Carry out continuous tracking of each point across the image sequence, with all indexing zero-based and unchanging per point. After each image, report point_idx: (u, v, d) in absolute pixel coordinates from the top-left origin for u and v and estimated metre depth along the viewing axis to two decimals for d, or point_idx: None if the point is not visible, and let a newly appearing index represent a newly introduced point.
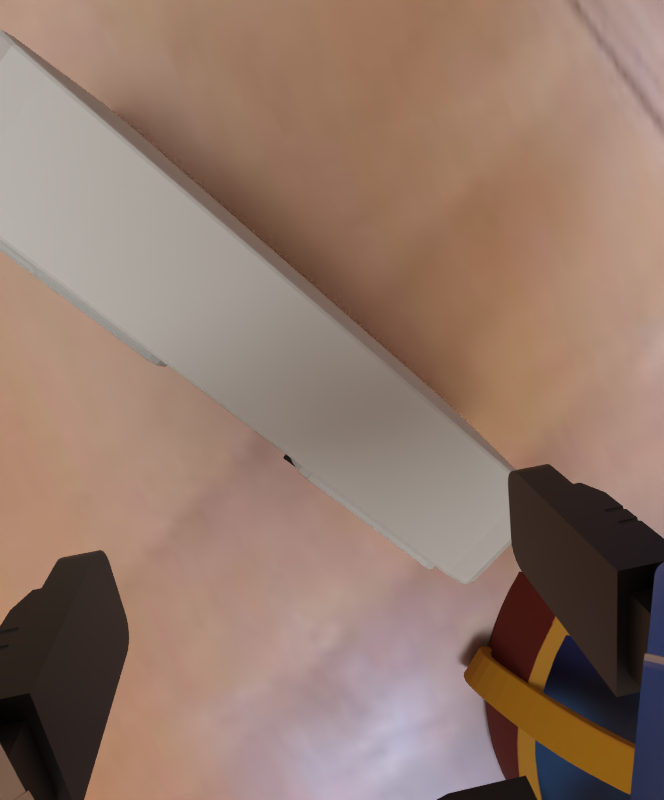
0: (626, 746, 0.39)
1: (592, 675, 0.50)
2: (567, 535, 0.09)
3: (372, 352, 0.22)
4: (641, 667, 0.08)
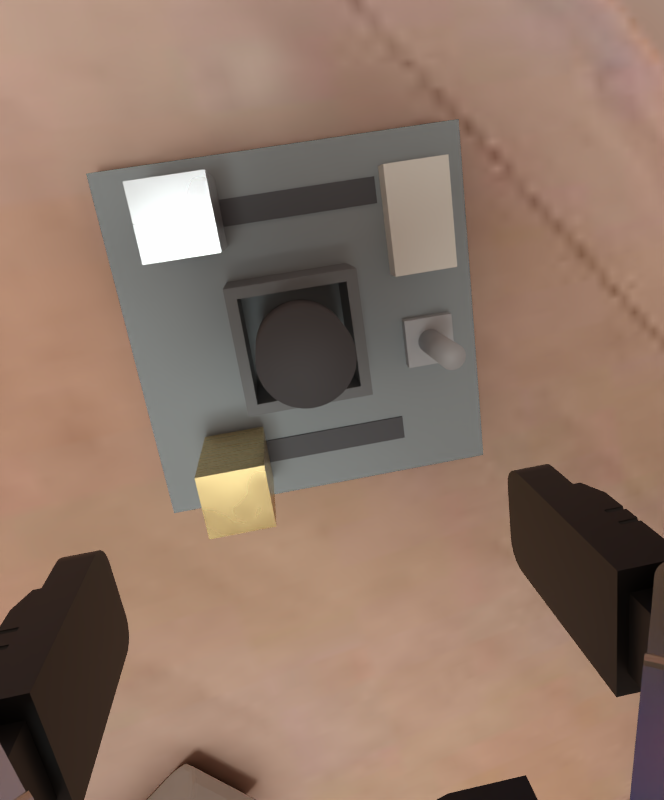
0: None
1: None
2: (567, 535, 0.09)
3: None
4: (641, 667, 0.08)
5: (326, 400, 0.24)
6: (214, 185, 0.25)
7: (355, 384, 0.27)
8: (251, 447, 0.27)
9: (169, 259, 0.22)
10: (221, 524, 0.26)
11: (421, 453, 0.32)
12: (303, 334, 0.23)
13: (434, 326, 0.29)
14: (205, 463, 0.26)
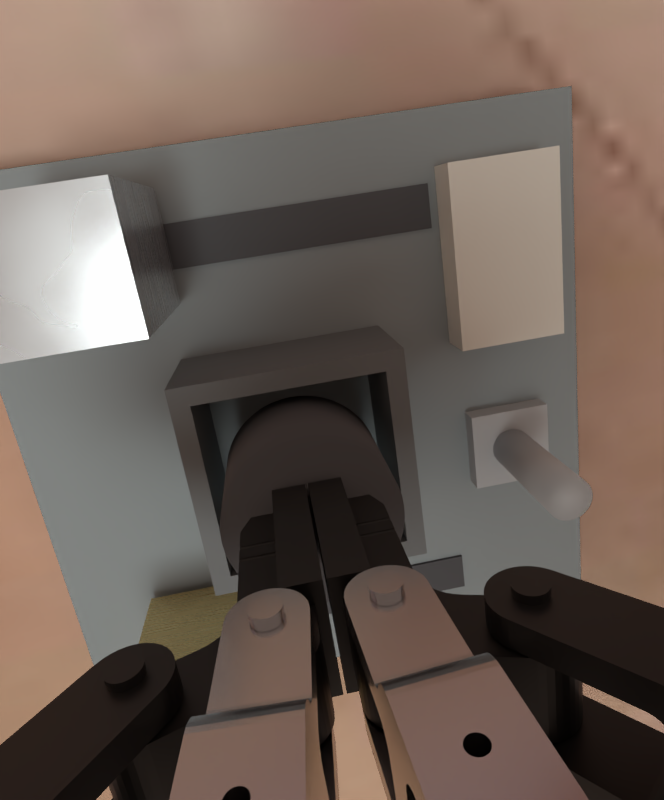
0: None
1: None
2: None
3: None
4: (354, 666, 0.09)
5: None
6: (151, 201, 0.14)
7: None
8: None
9: (44, 354, 0.11)
10: None
11: None
12: (308, 481, 0.12)
13: (519, 425, 0.18)
14: None
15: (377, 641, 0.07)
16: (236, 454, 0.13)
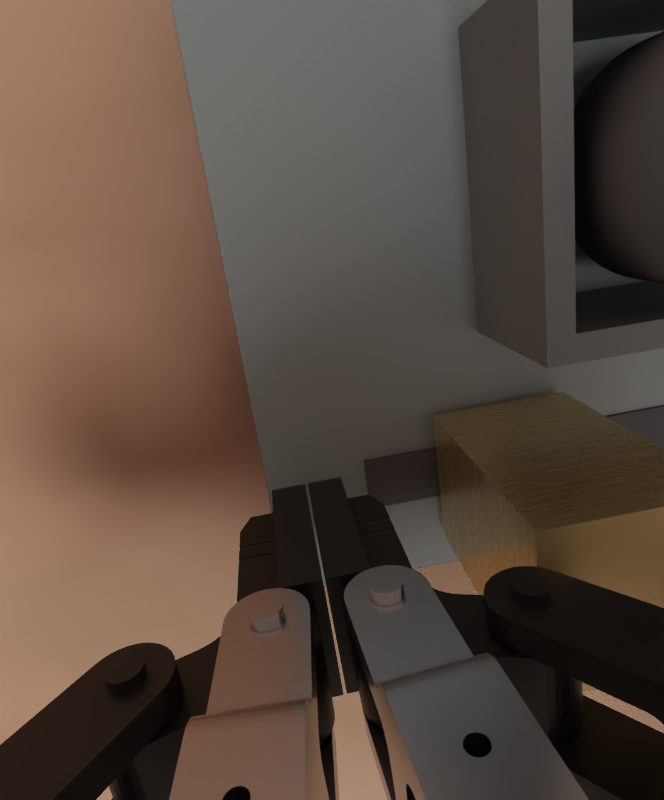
0: None
1: None
2: None
3: None
4: (354, 666, 0.09)
5: None
6: None
7: None
8: (607, 440, 0.10)
9: None
10: None
11: None
12: None
13: None
14: (515, 482, 0.09)
15: (377, 641, 0.07)
16: (649, 63, 0.08)
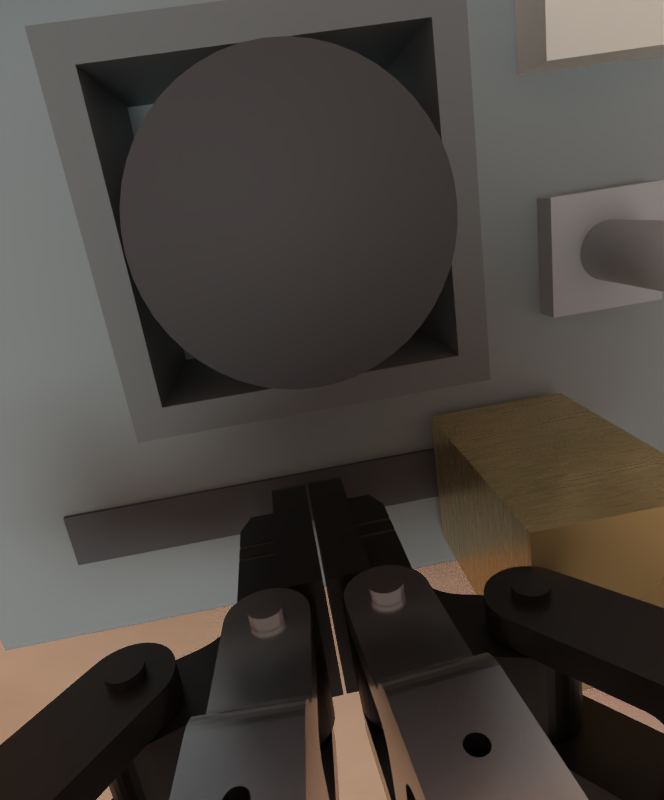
0: None
1: None
2: (319, 545, 0.10)
3: None
4: (354, 666, 0.09)
5: (356, 364, 0.08)
6: None
7: (439, 351, 0.10)
8: (603, 441, 0.11)
9: None
10: None
11: None
12: (283, 134, 0.07)
13: (622, 213, 0.12)
14: (511, 483, 0.10)
15: (377, 641, 0.07)
16: None
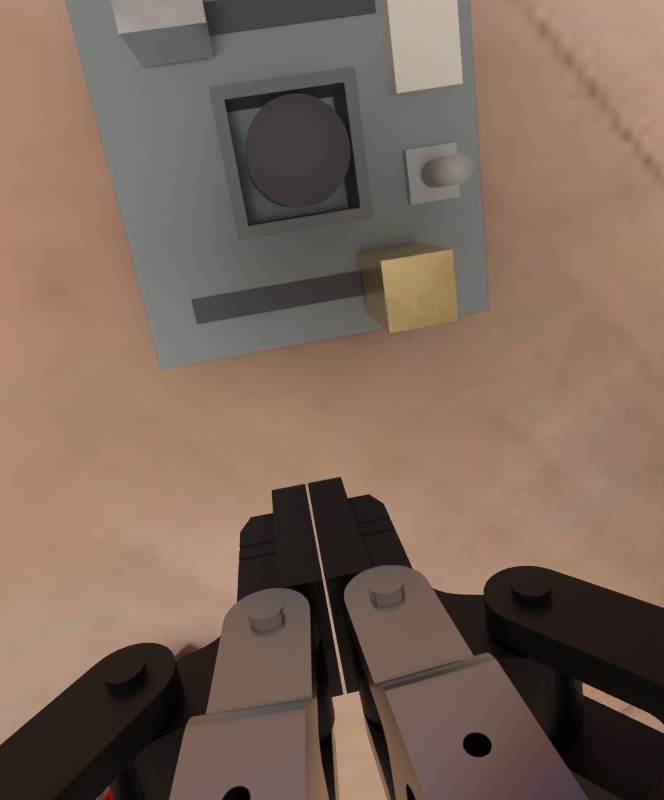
0: None
1: None
2: None
3: None
4: (354, 666, 0.09)
5: (319, 198, 0.23)
6: None
7: (354, 208, 0.25)
8: (423, 247, 0.26)
9: (148, 28, 0.20)
10: (403, 316, 0.24)
11: None
12: (295, 122, 0.22)
13: (438, 157, 0.27)
14: (381, 257, 0.25)
15: (377, 641, 0.07)
16: None
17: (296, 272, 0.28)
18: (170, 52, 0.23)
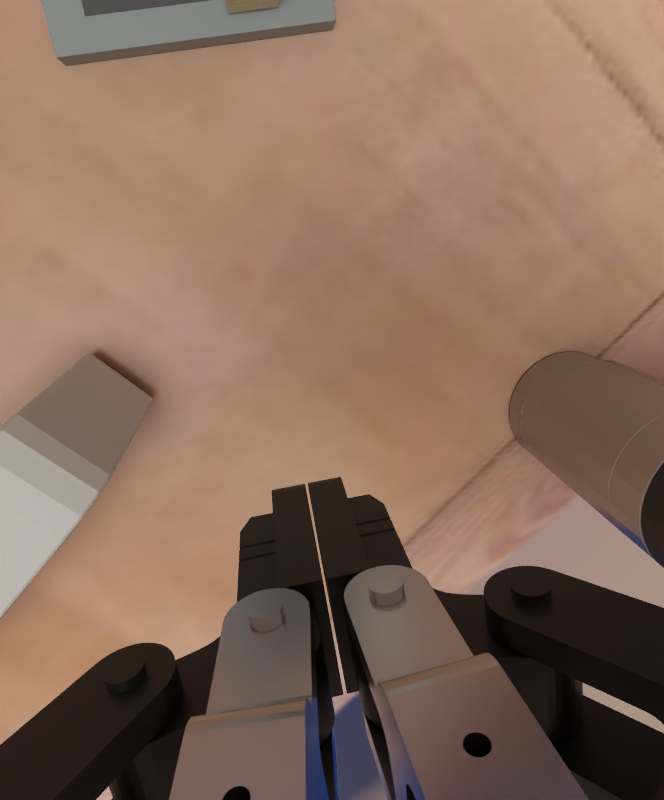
0: None
1: None
2: None
3: None
4: (354, 666, 0.09)
5: None
6: None
7: None
8: None
9: None
10: None
11: (278, 13, 0.36)
12: None
13: None
14: None
15: (377, 641, 0.07)
16: None
17: None
18: None
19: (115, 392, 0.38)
